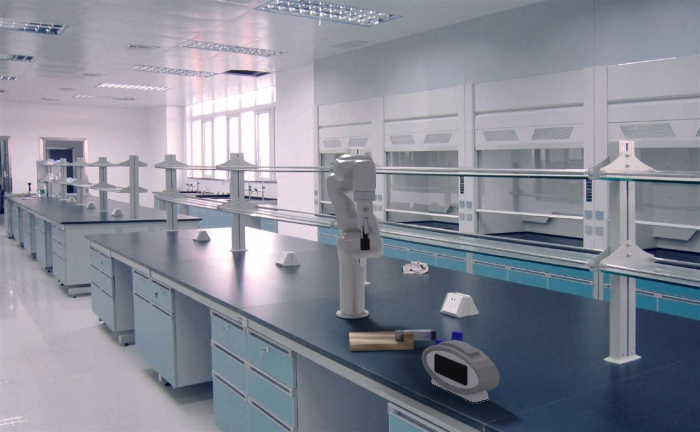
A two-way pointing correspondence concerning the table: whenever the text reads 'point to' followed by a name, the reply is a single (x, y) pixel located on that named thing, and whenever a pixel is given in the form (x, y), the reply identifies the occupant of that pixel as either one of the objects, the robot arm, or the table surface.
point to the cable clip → (455, 336)
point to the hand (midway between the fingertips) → (365, 249)
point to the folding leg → (416, 334)
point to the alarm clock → (461, 369)
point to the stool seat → (379, 341)
